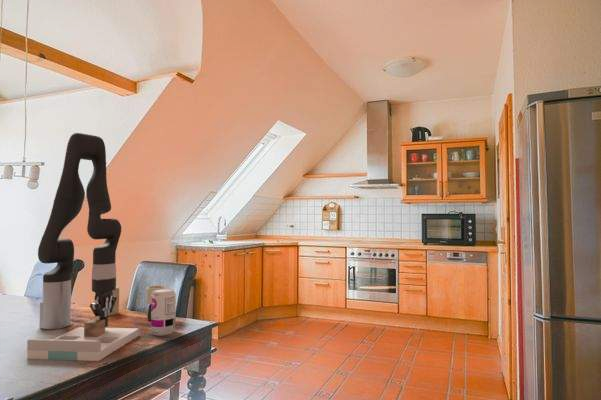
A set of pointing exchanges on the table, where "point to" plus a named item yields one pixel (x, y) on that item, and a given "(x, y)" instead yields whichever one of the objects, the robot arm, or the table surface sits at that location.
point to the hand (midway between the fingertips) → (103, 327)
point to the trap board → (80, 345)
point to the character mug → (148, 296)
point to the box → (116, 306)
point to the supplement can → (163, 312)
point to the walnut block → (94, 328)
